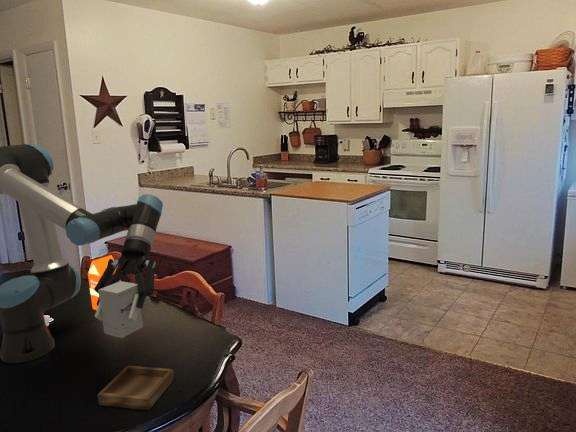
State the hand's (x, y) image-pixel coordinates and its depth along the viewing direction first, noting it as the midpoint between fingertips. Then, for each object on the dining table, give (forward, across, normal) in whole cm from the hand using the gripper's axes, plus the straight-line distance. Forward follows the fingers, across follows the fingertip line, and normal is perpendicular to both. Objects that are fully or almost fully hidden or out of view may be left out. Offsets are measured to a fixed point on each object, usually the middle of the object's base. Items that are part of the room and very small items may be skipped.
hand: (115, 319), depth 119 cm
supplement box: (+1, 0, -6) cm, 6 cm away
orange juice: (-22, +37, -50) cm, 65 cm away
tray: (+15, -4, -13) cm, 21 cm away
